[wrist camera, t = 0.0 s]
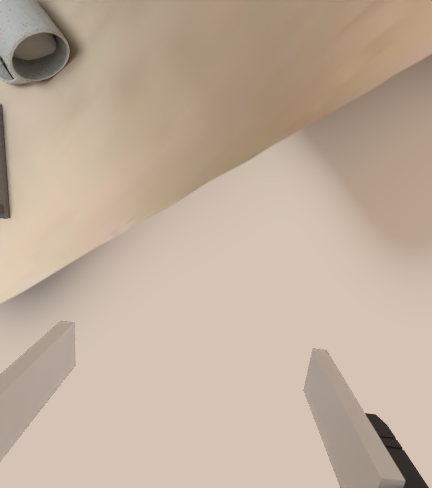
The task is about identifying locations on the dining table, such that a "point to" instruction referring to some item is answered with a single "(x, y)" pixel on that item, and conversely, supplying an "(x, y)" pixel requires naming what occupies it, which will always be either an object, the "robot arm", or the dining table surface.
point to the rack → (3, 174)
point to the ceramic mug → (29, 42)
